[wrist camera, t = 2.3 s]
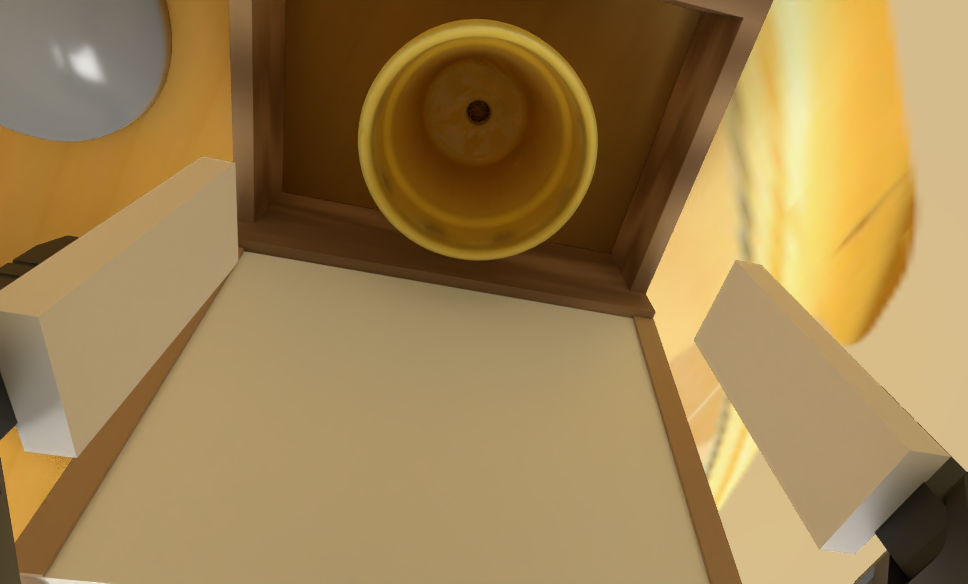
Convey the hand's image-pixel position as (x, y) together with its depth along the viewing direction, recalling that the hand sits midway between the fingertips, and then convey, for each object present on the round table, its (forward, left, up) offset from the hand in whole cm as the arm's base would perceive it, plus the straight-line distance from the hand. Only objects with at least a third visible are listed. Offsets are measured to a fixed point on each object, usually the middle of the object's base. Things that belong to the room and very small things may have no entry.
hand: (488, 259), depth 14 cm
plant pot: (0, 0, -20) cm, 20 cm away
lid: (-10, 0, -13) cm, 16 cm away
